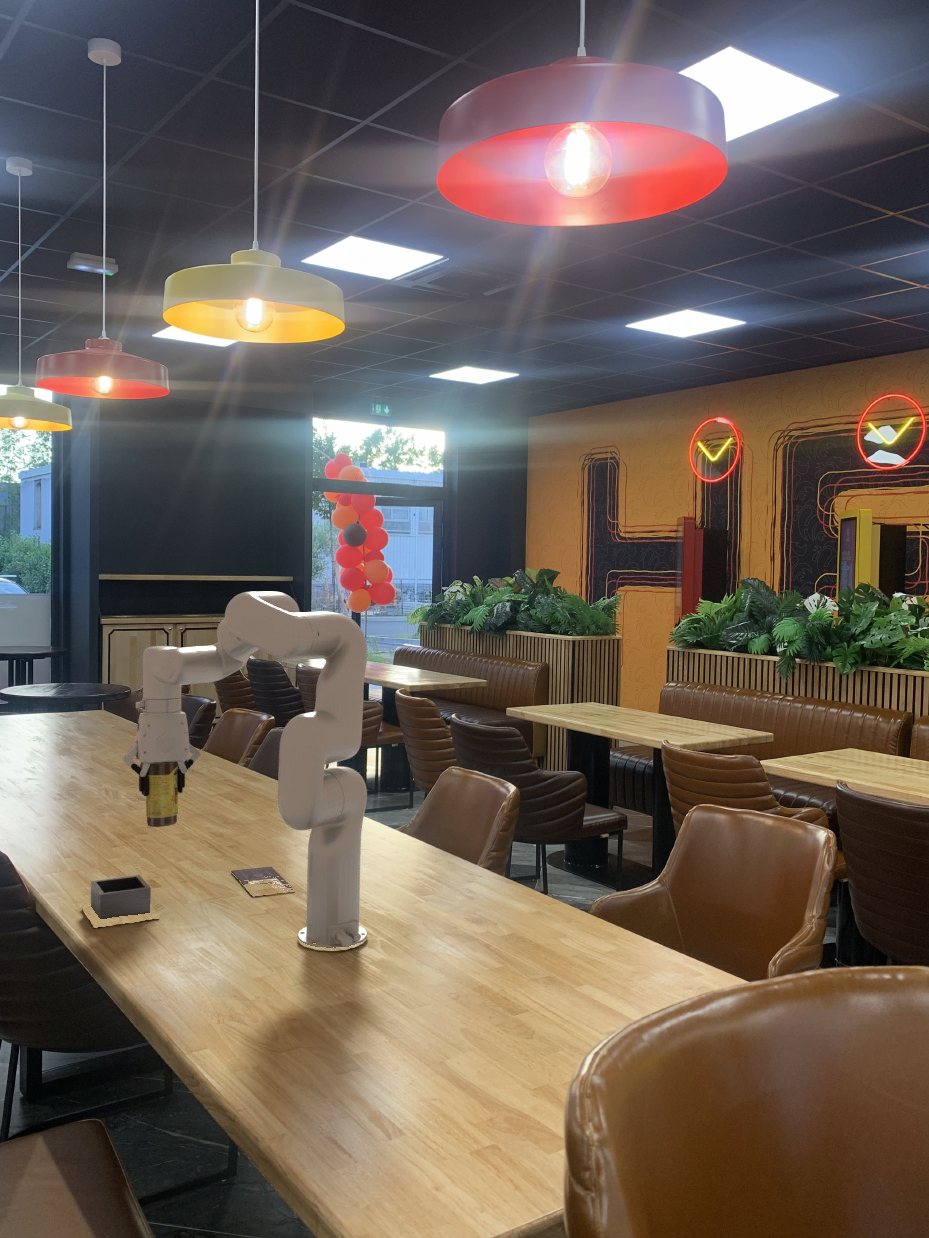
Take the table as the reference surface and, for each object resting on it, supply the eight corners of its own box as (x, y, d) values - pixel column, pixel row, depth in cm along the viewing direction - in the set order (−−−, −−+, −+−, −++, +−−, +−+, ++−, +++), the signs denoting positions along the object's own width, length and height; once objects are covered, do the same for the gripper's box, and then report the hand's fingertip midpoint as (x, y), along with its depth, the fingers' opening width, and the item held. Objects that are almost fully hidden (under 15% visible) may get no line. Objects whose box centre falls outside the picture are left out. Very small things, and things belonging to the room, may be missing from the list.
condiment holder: (159, 918, 191) (159, 889, 191) (93, 928, 185) (93, 898, 185) (144, 900, 201) (145, 872, 201) (81, 909, 195) (82, 880, 195)
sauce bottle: (181, 825, 205) (182, 729, 204) (151, 829, 202) (151, 731, 201) (172, 819, 210) (172, 725, 210) (142, 823, 207) (142, 727, 206)
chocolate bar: (271, 866, 225) (294, 889, 209) (271, 870, 225) (294, 894, 209) (231, 870, 221) (252, 894, 205) (231, 874, 221) (252, 899, 205)
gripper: (122, 710, 197) (122, 801, 198) (209, 706, 206) (208, 792, 207) (114, 706, 204) (114, 793, 205) (199, 702, 213) (198, 786, 213)
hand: (162, 792), depth 206 cm, fingers closed on sauce bottle, 6 cm apart
